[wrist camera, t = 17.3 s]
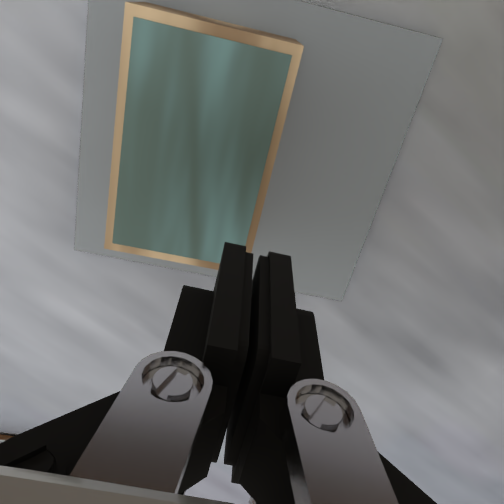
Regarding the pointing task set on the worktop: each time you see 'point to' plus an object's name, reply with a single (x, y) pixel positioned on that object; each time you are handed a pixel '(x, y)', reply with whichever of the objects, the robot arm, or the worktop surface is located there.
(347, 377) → the worktop surface
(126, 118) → the block
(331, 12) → the mat
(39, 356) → the worktop surface
